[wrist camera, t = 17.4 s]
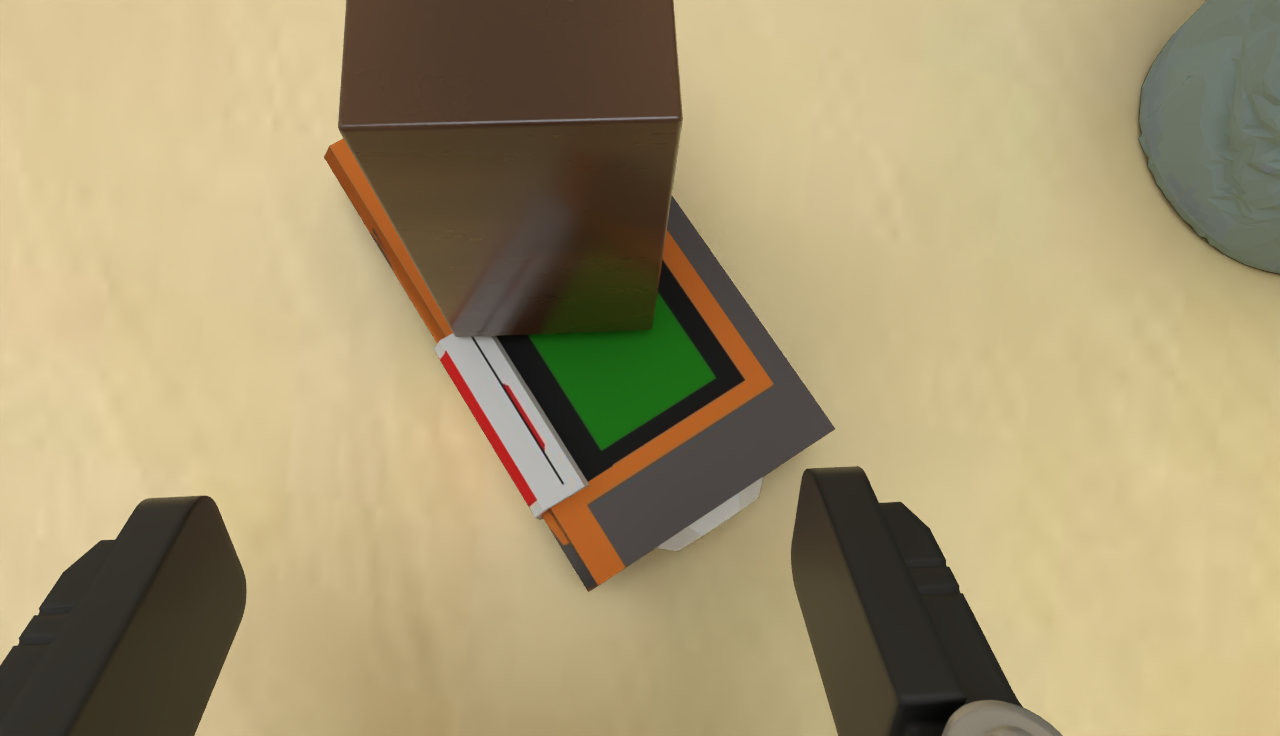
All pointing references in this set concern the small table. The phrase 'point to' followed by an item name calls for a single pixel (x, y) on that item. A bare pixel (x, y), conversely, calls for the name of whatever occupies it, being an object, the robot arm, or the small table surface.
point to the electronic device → (624, 403)
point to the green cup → (1220, 127)
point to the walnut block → (520, 153)
